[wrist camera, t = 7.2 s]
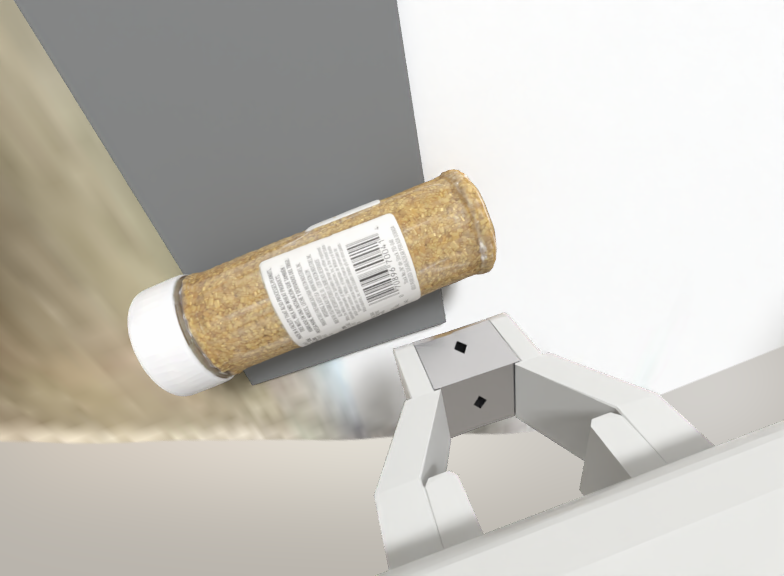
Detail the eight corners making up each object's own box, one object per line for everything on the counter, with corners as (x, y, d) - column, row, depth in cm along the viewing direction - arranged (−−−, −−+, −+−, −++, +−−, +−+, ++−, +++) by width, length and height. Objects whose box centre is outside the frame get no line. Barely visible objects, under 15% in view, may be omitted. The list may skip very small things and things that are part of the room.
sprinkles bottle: (443, 155, 16) (144, 271, 16) (492, 183, 12) (100, 337, 12) (462, 245, 19) (206, 348, 18) (509, 291, 15) (186, 424, 14)
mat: (378, -92, 12) (381, -97, 11) (442, 316, 21) (445, 322, 21) (14, -14, 11) (4, -16, 10) (253, 378, 20) (252, 385, 20)
